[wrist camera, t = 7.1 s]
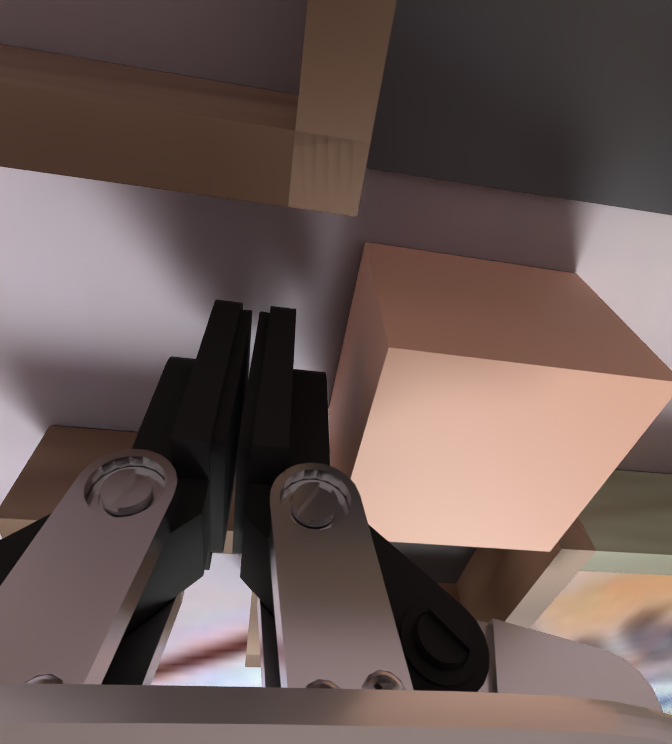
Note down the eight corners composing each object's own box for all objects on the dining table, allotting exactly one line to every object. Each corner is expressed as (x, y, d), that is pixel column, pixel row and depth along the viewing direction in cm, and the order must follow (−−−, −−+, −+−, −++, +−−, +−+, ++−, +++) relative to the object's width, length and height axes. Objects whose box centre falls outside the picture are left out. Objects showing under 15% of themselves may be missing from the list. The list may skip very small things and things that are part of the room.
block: (365, 241, 10) (388, 347, 7) (576, 273, 11) (683, 382, 8) (328, 410, 13) (333, 538, 10) (496, 427, 14) (549, 551, 11)
